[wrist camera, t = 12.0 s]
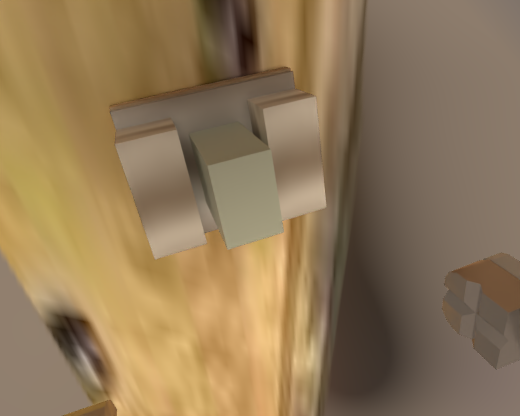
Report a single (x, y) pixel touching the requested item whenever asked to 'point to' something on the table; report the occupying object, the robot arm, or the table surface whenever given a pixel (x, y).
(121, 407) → the table surface
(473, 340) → the robot arm
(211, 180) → the block
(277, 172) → the rail board
